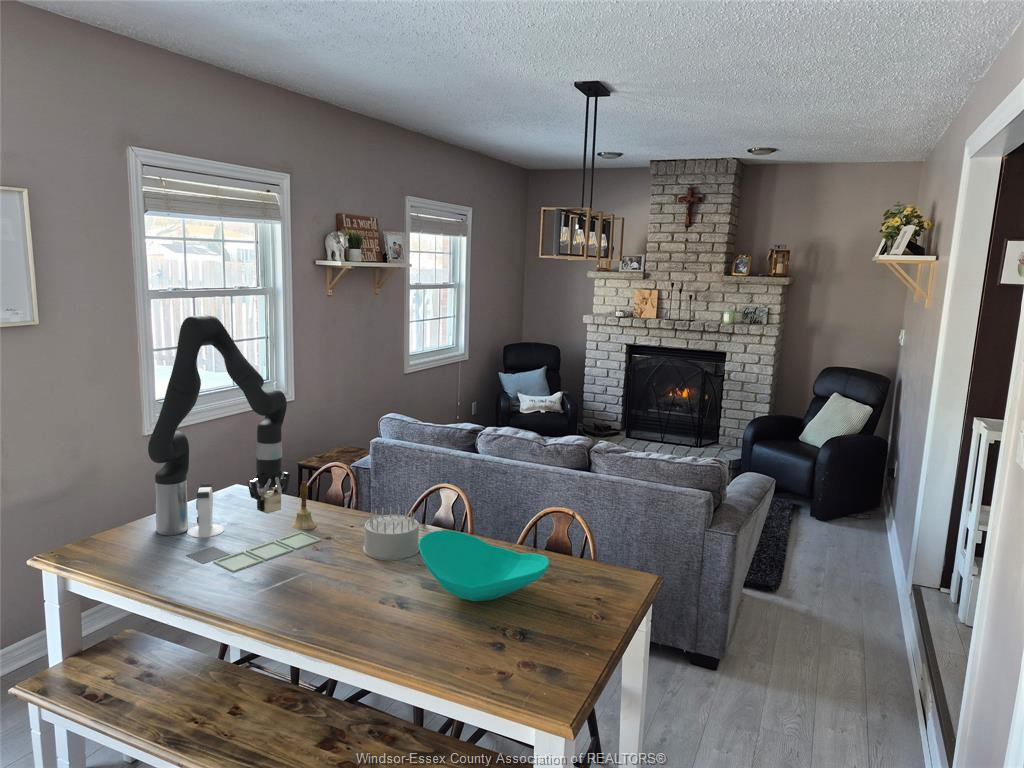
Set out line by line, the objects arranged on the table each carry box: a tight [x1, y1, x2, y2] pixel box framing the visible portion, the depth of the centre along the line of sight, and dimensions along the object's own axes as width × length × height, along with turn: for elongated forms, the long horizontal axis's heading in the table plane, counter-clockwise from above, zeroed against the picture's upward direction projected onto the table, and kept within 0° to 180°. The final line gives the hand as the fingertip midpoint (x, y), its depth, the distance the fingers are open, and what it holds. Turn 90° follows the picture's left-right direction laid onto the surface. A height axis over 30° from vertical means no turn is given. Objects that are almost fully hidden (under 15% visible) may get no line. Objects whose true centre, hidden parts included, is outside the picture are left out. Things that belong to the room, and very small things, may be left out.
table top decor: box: [418, 529, 550, 602], centre depth 198 cm, size 40×28×13 cm
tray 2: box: [245, 540, 294, 561], centre depth 221 cm, size 10×10×1 cm
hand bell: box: [291, 480, 317, 530], centre depth 242 cm, size 8×8×16 cm
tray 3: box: [275, 531, 322, 551], centre depth 230 cm, size 10×10×1 cm
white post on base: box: [186, 482, 225, 539], centre depth 234 cm, size 12×11×15 cm
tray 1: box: [212, 550, 264, 573], centre depth 212 cm, size 10×10×1 cm
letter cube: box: [256, 490, 282, 515], centre depth 218 cm, size 5×5×5 cm
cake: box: [362, 506, 420, 562], centre depth 227 cm, size 18×18×13 cm
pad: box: [185, 546, 231, 565], centre depth 216 cm, size 9×9×1 cm
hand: (269, 508), depth 218 cm, fingers closed on letter cube, 5 cm apart
